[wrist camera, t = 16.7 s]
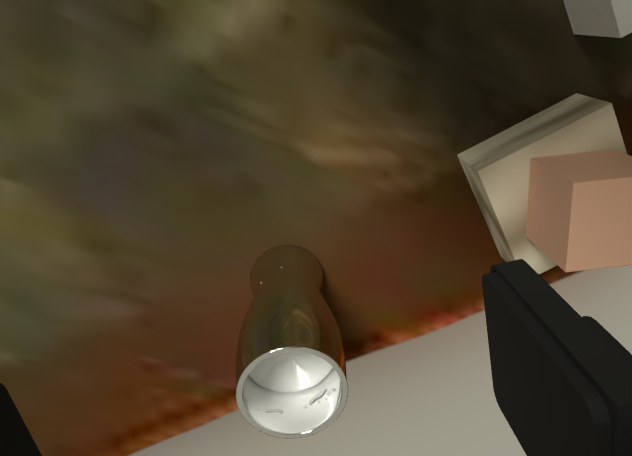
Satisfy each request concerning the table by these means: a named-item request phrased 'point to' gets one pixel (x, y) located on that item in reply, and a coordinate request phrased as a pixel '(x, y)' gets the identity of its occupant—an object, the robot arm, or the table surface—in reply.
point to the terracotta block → (582, 209)
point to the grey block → (600, 17)
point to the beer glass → (289, 349)
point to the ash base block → (514, 166)
